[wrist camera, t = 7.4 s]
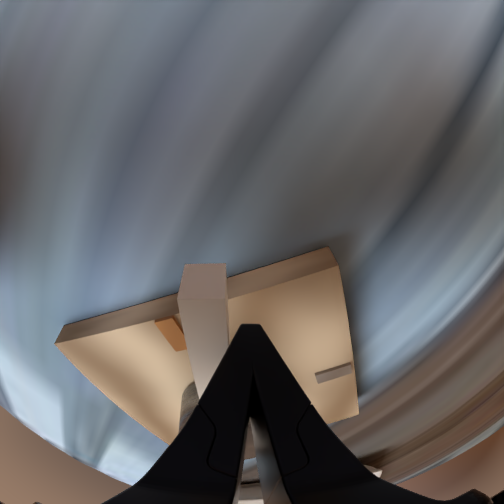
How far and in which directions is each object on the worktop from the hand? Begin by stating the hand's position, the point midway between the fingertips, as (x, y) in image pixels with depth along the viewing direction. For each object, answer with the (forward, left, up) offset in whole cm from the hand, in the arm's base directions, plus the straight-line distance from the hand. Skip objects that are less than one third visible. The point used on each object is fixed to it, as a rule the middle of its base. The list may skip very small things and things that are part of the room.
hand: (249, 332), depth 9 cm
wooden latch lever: (-3, -4, -2) cm, 5 cm away
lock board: (-4, -8, -4) cm, 10 cm away
